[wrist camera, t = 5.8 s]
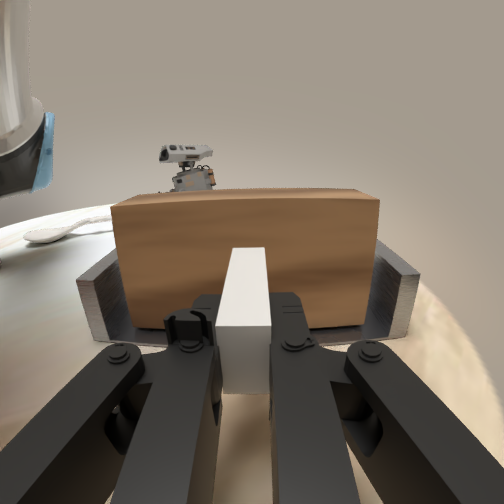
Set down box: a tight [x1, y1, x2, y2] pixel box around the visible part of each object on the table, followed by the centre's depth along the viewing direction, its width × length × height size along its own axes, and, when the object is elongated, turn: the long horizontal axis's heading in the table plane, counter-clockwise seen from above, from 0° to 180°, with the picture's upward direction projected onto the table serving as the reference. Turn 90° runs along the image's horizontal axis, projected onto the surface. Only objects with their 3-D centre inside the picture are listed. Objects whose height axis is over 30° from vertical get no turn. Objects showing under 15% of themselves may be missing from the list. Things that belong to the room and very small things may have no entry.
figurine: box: [158, 145, 216, 193], centre depth 54 cm, size 9×12×15 cm
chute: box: [76, 239, 420, 347], centre depth 25 cm, size 16×23×5 cm
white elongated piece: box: [24, 216, 112, 243], centre depth 48 cm, size 9×32×4 cm, turn 105°
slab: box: [110, 188, 380, 329], centre depth 20 cm, size 5×17×9 cm, turn 90°
